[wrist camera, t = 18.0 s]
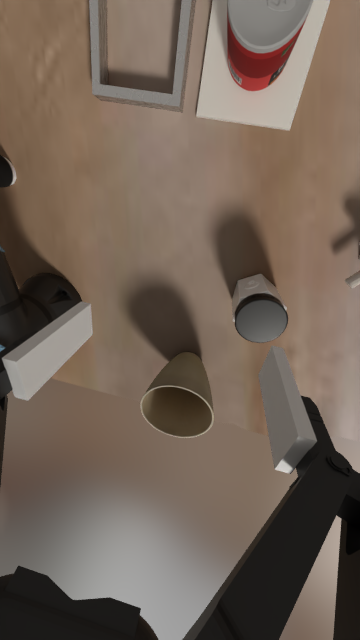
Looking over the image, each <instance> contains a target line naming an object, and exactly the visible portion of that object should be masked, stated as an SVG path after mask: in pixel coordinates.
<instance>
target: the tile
mask: <svg viewBox="0 0 360 640" xmlns="http://www.w3.org/2000/svg"><path fill="white" fill-rule="evenodd" d="M329 3H330V0H313V3H312V6H311V8H310V11H309V14H308V16H307V18H306V21H305V23H304V26H303V28H302V30H301V32H300V34H299V37H298V39H297V41H296V43H295V46H294V48H293V50H292V52H291V55H290V57H289V59H288V61H287V63H286V66H285V67H284V69H283V71H282V73H281V74H280V75H279V77H278V78H277V79H276V80H275V81H274V82H273V83H272V84H271V85H269V86H268V87H266V88H264V89H262V90H259V91H247V90H245V89H243V88H241V87H240V86H238V85H237V84H236V82H235V81H234V80H233V78H232V76H231V74H230V71H229V67H228V52H227V0H213V2H212V9H211V16H210V23H209V30H208V37H207V44H206V51H205V58H204V65H203V72H202V79H201V86H200V93H199V100H198V107H197V114H196V116H197V117H199V118H206V119H213V120H220V121H226V122H233V123H240V124H247V125H253V126H260V127H267V128H274V129H281V130H287V131H289V130H290V128H291V125H292V121H293V118H294V115H295V112H296V108H297V105H298V102H299V99H300V96H301V92H302V89H303V86H304V83H305V80H306V76H307V73H308V70H309V67H310V64H311V60H312V57H313V54H314V51H315V48H316V44H317V41H318V38H319V35H320V32H321V28H322V25H323V22H324V19H325V16H326V12H327V9H328V6H329Z"/></svg>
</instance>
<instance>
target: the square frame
mask: <svg viewBox="0 0 360 640" xmlns="http://www.w3.org/2000/svg"><path fill="white" fill-rule="evenodd" d="M195 3H196V0H182V3H181V13H180V24H179V34H178V44H177V54H176V64H175V75H174V85H173V94H167V93H160V92H152V91H145V90H138V89H131V88H124V87H117V86H110V85H108V62H107V0H89V8H90V36H91V64H92V92H93V95H94V96H96V97H97V98H98V99H100V100H101V101H108V102H115V103H122V104H129V105H135V106H142V107H149V108H156V109H163V110H170V111H176V112H183V104H184V96H185V87H186V79H187V70H188V62H189V54H190V45H191V37H192V28H193V20H194V11H195Z"/></svg>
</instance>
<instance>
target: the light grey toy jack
mask: <svg viewBox="0 0 360 640" xmlns="http://www.w3.org/2000/svg"><path fill="white" fill-rule="evenodd" d="M359 245H360V241H359ZM359 260H360V255H359ZM345 282H346V283H347V285H348V286H349V287H350V288H352V289H353V288H354V287H356V286H357V285H359V284H360V271H358V272H357V273H355V274H354V275H352V276H350V277H349V278H347V279H346V280H345Z"/></svg>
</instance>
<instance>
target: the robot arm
mask: <svg viewBox="0 0 360 640" xmlns="http://www.w3.org/2000/svg"><path fill="white" fill-rule="evenodd" d="M4 252H5V251H4V249H3V248H2V247H1V245H0V485H1V473H2V461H3V450H4V438H5V437H4V436H5V425H6V414H7V402H8V398H7V394H8V393H9V392H10V391H11V390H13V393H14V396H15V397H16V398H20V399H24V400H29V399H30V398H31V397H32V396H33V395H34V394H35V393H36V392H37V391H38V390H39V389H40V388H41V387H42V385H44V384H45V383H46V382H47V381H48V379H50V378H51V377H52V376H53V375H54V373H55V372H56V371H57V370H58V369H59V368H60V367H61V366H62V365H63V364H64V363H65V362H66V361H67V360H68V359H69V358H70V357H71V356H72V355H73V354H74V353H75V352H76V351H77V350H78V349H79V348H80V347H81V346H82V345H83V344H84V343H85V342H86V341H87V340H88V339H89V338H90V337H91V336H92V335H93V332H92V315H91V304H90V303H86V302H82V300H81V298H80V296H79V294H78V293H77V291H76V290H75V289H74V288H73V286H72V285H71V284H69V283H68V282H67V281H66V280H64V279H63V278H61V277H59V276H57V275H54V274H49V273H42V274H38V275H36V276H33V277H31V278H29V279H28V280H27V281H26V282H25V283H24V284H23V285H22V287H21V288H20V289H18V287H17V284H16V282H15V279H14V277H13V274H12V272H11V269H10V266H9V264H8V261H7V259H6V256H5V254H4ZM259 381H260V387H261V393H262V398H263V404H264V410H265V416H266V422H267V428H268V433H269V439H270V444H271V451H272V456H273V462H274V468H275V470H279V471H282V472H286V473H290V474H291V473H292V472H293V470H294V469H295V468H296V470H297V474H298V478H297V479H296V480H295V481H294V482H293V484H292V485H291V486H290V489H289V490H288V491H287V493H286V494H285V496H284V497H283V499H282V500H281V502H280V503H279V504H278V506H277V507H276V509H275V510H274V511H273V513H272V514H271V516H270V517H269V519H268V520H267V522H266V523H265V524H264V526H263V527H262V529H261V530H260V531H259V533H258V534H257V536H256V537H255V539H254V540H253V542H252V543H251V544H250V546H249V547H248V549H247V550H246V552H245V553H244V554H243V556H242V557H241V559H240V560H239V561H238V563H237V564H236V566H235V567H234V569H233V570H232V572H231V573H230V575H229V576H228V577H227V579H226V580H225V582H224V583H223V584H222V586H221V587H220V589H219V590H218V592H217V593H216V594H215V596H214V597H213V599H212V600H211V602H210V603H209V604H208V606H207V607H206V609H205V610H204V612H203V613H202V614H201V616H200V617H199V618H198V620H197V621H196V623H195V624H194V625H193V626H192V628H191V629H190V630H189V632H188V633H187V634H186V636H185V637H184V638H183V640H279V638H280V636H281V634H282V631H283V629H284V627H285V625H286V623H287V621H288V618H289V616H290V614H291V612H292V610H293V608H294V605H295V603H296V601H297V599H298V597H299V594H300V592H301V590H302V588H303V586H304V584H305V582H306V580H307V577H308V575H309V573H310V571H311V568H312V566H313V564H314V562H315V560H316V558H317V556H318V553H319V551H320V549H321V547H322V545H323V542H324V541H325V538H326V536H327V534H328V532H329V530H330V528H331V525H332V523H333V521H334V519H335V517H336V515H337V516H338V517H340V518H342V521H341V535H340V549H339V550H340V551H339V564H338V578H337V593H336V608H335V622H334V637H333V640H360V473H358V472H356V471H355V470H353V469H352V466H351V465H350V464H349V462H348V461H347V459H345V458H344V457H343V456H342V455H341V454H340V453H338V452H337V451H336V450H335V448H334V446H333V443H332V441H331V438H330V436H329V434H328V431H327V429H326V427H325V424H323V420H322V417H321V416H320V413H319V410H318V408H317V406H316V405H315V403H314V402H313V401H312V400H311V399H310V398H308V397H304V396H301V395H300V393H299V390H298V387H297V384H296V382H295V379H294V376H293V374H292V371H291V368H290V365H289V363H288V360H287V357H286V354H285V352H284V349H283V348H280V347H276V346H271V348H270V351H269V353H268V355H267V357H266V359H265V362H264V364H263V366H262V368H261V370H260V373H259ZM140 610H141V609H140V608H138V607H135V606H132V605H130V604H127V603H124V602H121V601H118V600H115V599H112V598H98V599H86V600H72V599H71V598H70V597H68V596H67V595H66V594H65V593H64V592H63V591H62V590H61V589H60V588H59V587H58V586H57V585H56V584H55V583H54V582H53V581H52V580H51V579H50V578H49V577H48V576H47V575H44V574H41V573H38V572H35V571H32V570H29V569H26V568H24V567H21V566H18V567H17V569H16V571H15V573H14V574H9V575H5V576H1V577H0V640H158V638H157V636H156V634H155V633H154V631H153V630H152V628H151V627H150V625H149V624H148V623H147V622H146V621H145V620H144V619H143V618H142V617H141V616H140Z"/></svg>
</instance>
